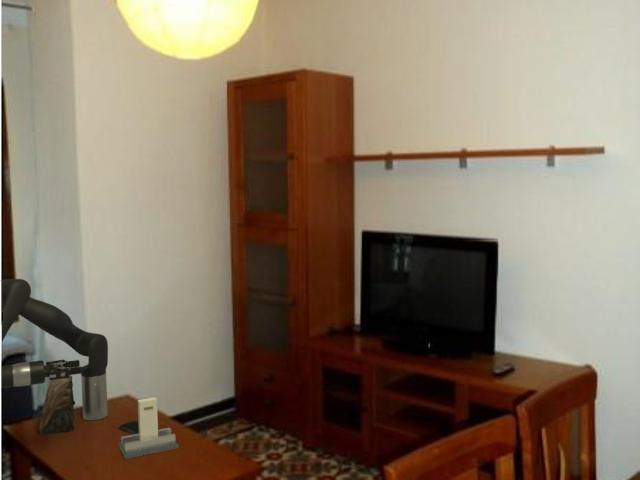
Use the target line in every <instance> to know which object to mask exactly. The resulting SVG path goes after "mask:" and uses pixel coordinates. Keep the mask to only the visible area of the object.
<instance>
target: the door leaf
mask: <svg viewBox="0 0 640 480" xmlns="http://www.w3.org/2000/svg"><path fill="white" fill-rule="evenodd" d="M137 415H138V416H137V417H138V420H137V421H138V422H139V440H144V439H149V438H154V437H158V430H159V420H158V399H157V398H156V397H149V398H144V399H138V400H137Z"/></svg>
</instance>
